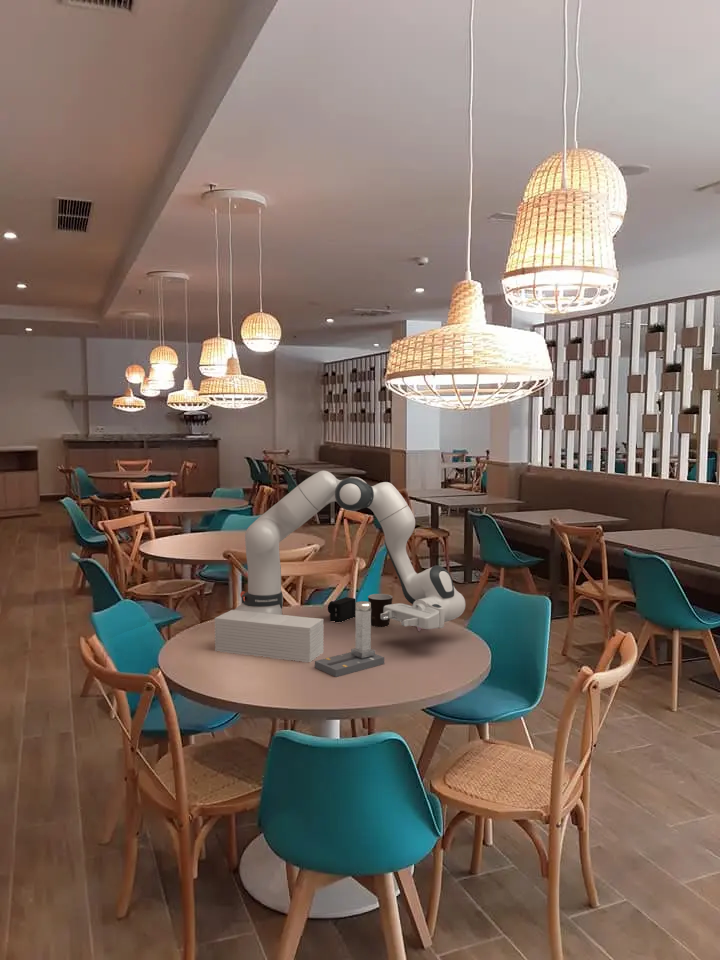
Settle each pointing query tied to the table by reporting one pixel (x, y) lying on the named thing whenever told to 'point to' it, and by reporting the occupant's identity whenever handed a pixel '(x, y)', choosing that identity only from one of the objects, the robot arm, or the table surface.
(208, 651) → the table surface
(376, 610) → the coffee mug
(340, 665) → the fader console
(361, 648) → the lever
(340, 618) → the digital camera
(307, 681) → the table surface
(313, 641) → the stack of papers
